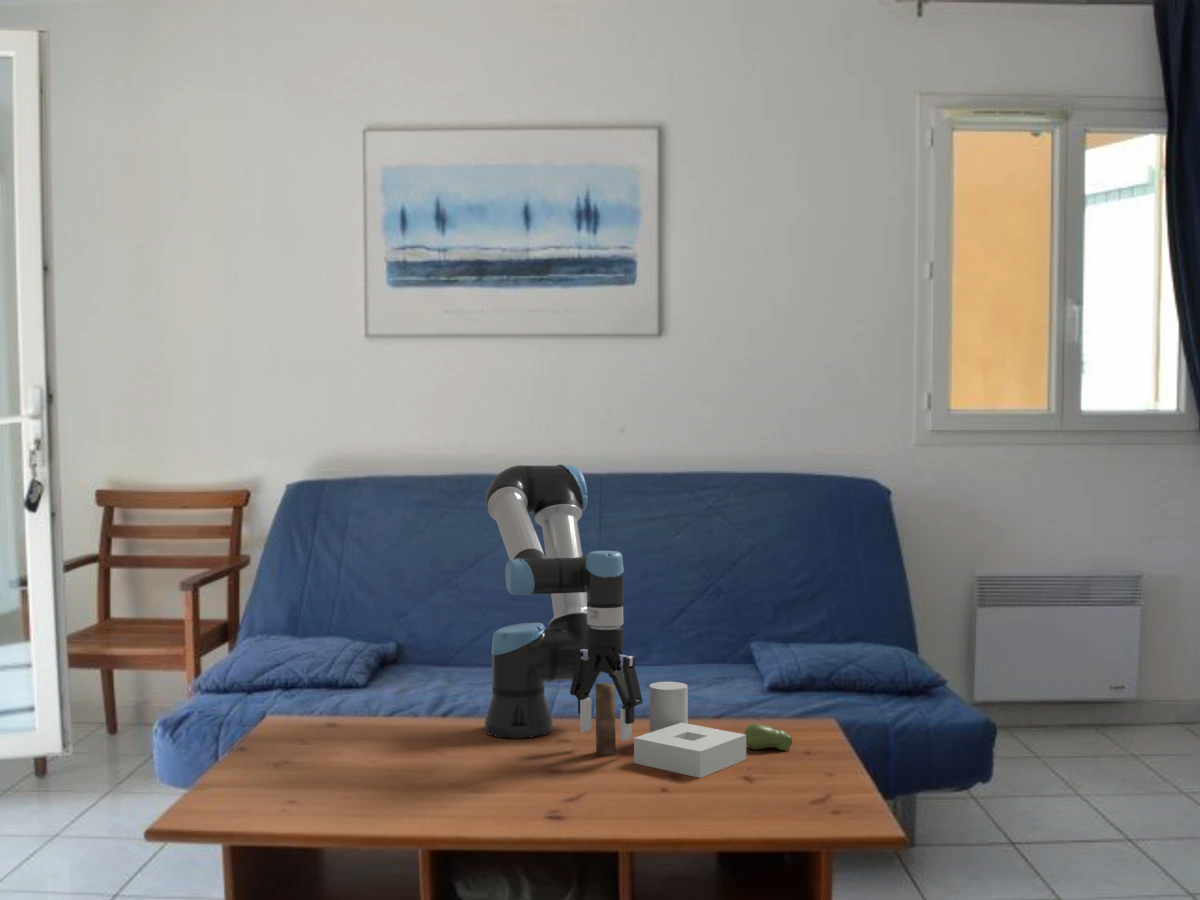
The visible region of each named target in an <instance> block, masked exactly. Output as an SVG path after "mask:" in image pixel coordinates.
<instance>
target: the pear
mask: <svg viewBox="0 0 1200 900" xmlns="http://www.w3.org/2000/svg"><path fill="white" fill-rule="evenodd" d="M743 734H745V735H746V747H748V748H750V749H751V750H754V749H755V750H754V751H759V750H758V749H760V750H763V749H767V748H771V747H774V748H776V749H777V750H780V751H782V750H788V751H789V750H790V747H791V746H792V743H793V740H792V738H793V735H791V734H788V732H787V731H784V730H783V729H776V728H774V727H772V726H771V725H766V724H762V723H751V724H750V725H748V726H747V727H746V728H745V730H744V733H743ZM756 749H757V750H756Z"/></svg>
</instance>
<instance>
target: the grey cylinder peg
mask: <svg viewBox="0 0 1200 900" xmlns="http://www.w3.org/2000/svg"><path fill="white" fill-rule="evenodd" d="M648 686H649V687H648V688H649V692H648V693H649V697H648V698H649V700H648V701H649V733H650V732H654V731H657V730H660V729H663V728H666V727H669V726H672V725H675V724H678V723H687V724H689V722H688V721H689V720H688V719H689V718H688V717H689V714H688V713H689V709H688V708H689V707H688V705H689V704H688V703H689V702H688V700H689V698H688V694H689V691H688V690H689V689H688V684H687V683H683V682H677V681H657V682H653V683H650V684H649V685H648Z"/></svg>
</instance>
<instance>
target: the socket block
mask: <svg viewBox="0 0 1200 900" xmlns="http://www.w3.org/2000/svg"><path fill="white" fill-rule="evenodd" d="M746 760H747V745H746V735H745V734H744V733H739V732H734V731H729V730H723V729H716V728H712V727H706V726H703V725H702V726H701V725H697V724H693V723H691V724H690V723H688V724H687V723H678V724H675V725H672V726H669V727H666V728H663V729H660V730H657V731H654V732H650V731H649V732H647V733H644V734H642V735H639V736H635V737H634V738H633V763H634V764H636V765H637V764H638V765H641V766H646V767H650V768H655V769H658V770H663V771H668V772H671V773H672V772H673V773H677V774H682V775H686V776H689V777H694V778H699V779H701V778H705V777H706V776H709V775H712V774H714V773H716V772H719V771H721V770H724V769H726V768H729V767H731V766H734V765H736V764H739V763H742V762H744V761H746Z"/></svg>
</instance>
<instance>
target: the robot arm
mask: <svg viewBox="0 0 1200 900" xmlns="http://www.w3.org/2000/svg"><path fill="white" fill-rule="evenodd" d="M587 487H588V486H587V483H586V480H585V476H584V474H583V473H582V471H581V470H580V469H579V468H578V467H577V466H575V465H565V464H561V463H559V464H556V465H523V464H522V465H518V464H517V465H514V466H511V467H507V468H506V469H504V470H502V471H501V472H499V473H498V474H497V475H496V476H495V477H494V478H493V479H492V481H490V484H489V486H488V488H487V490H486V494H485V503H486V504H485V505H486V509H487V511H488V514H489V516H490V517H491V518H492V519H493V520H494V521H496V525H497V527H498V530H499V533H500V535H501V538H502V542H503V545H504V547H505V550H506V553H507V556H508V559H509V560H508V561H507V562H506V564H505V568H504V569H505V571H504V572H505V573H504V580H505V586H506V590H507V592H508V593H509V594H510V595H513V596H514V595H515V596H518V595H519V596H534V595H536V596H537V595H549V594H550V596H551V603H552V611H553V612H552V613H553V618H552V619H551V620H550V621H549V622H548V628H546V627H545V625H544V623H542V622H537V621H536V622H522V623H514V624H511V625H507V626H504V627H501V628H499V629H497V630H496V631H495V632H494V633H493V635H492V640H491V642H492V644H491V651H490V652H491V656H492V657H491V665H492V666H491V668H492V671H491V672H492V674H491V679H492V683H491V686H492V690H491V691H492V693H491V694H492V696H491V700H490V702H489V707H488V710H487V716H486V717H485V719H484V732H485V731H486V732H487V733H489V734H492V735H496V736H500V737H499V738H502V737H512V738H511V739H523V738H522V737H530V738H532V737H531V736H537V735H541V736H543V735H542V734H545V733H548V732H550V731H551V730H552V729H553V727H554V726H553V725H554V724H553V717H552V715H550V709H549V706H548V702H547V698H546V695H545V691H546V690H545V684H546V683H547V682H559V681H560V682H561V681H571V685H570V690H569V692H570V695H571V696H575V697H576V699H577V713H578V715H579V716H580V717H579V722H580V725H579V727H580V730H579V732H581V733H585V732H588V731H591V730H592V698H590V697H591V695H590V693H591V691H592V689H593V687H594V685H595V683H596V681H597V678H600V677H602V676H604V675H605V674H608V676H609V677H610V679H612V682H613V684H615V690H616V692H617V694H618V696H619V698H620V702H621V703H622V706H621V707H620V708H619V709H620V711H619V712H620V713H619V714H620V716H619V717H620V721H619V722H620V724H619V725H620V726H619V727H620V741H623V742H625V741H627V740H630V739H632V738H633V735H632V734H633V733H632V732H633V729H632V727H633V726H632V724H633V723H634V722H635V707H636V706H639V705H640V706H641V705H642V704H643V701H644V700H643V697H642V692H641V687H640V684H639V679H638V676H637V675H638V674H637V671H636V667H635V666H636V657H635V655H625V654H624V653H623V651H622V648H623V645H624V628H623V627H622V626H623V625H624V572H625V567H624V560H623V555H622V553H621V552H619V551H617V550H592V551H590V552H588V553H587V555H583V550H582V544H581V539H580V531H579V524H578V522H579V520H580V519H581V518H582V516H583V512H584V511H585V510H586V509H587V507H588V488H587ZM530 514H533V515H534V517H533V518H534V521H535V523H536V524H537V525H539V526H540V527H542V536H543V543H544V550H543V548H542V545H541V542H540V539H539V538H538V534H537V532H536V530H535V528H534V527H535V526H534V524H533V522H532V520H531V517H530ZM544 551H545V553H544ZM552 731H553V730H552ZM552 731H551V732H552ZM486 732H485V733H486ZM551 732H550V733H551ZM487 733H486V734H487ZM489 734H488V735H489ZM548 734H549V733H548ZM545 735H546V734H545ZM537 737H538V736H537Z"/></svg>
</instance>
